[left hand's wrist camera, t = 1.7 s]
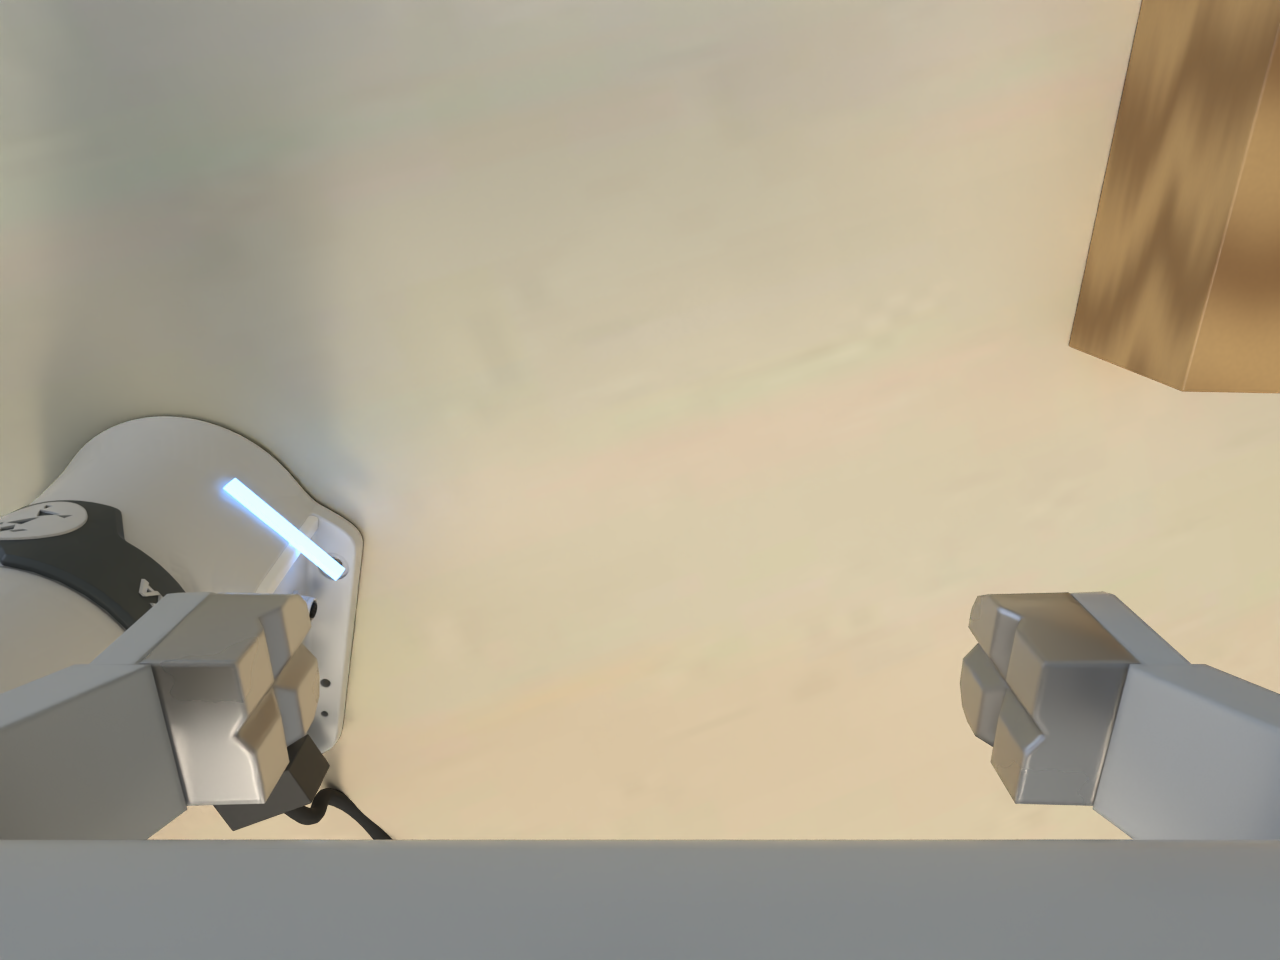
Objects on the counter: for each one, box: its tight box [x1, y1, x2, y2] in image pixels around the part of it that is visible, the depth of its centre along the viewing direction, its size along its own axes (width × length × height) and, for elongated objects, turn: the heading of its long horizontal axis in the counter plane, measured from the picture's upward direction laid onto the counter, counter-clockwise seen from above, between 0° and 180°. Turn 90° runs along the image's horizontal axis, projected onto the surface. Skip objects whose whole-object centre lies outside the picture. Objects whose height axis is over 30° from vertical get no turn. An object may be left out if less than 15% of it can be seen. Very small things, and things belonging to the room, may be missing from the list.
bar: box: [1069, 0, 1280, 393], centre depth 34 cm, size 24×6×9 cm, turn 179°
